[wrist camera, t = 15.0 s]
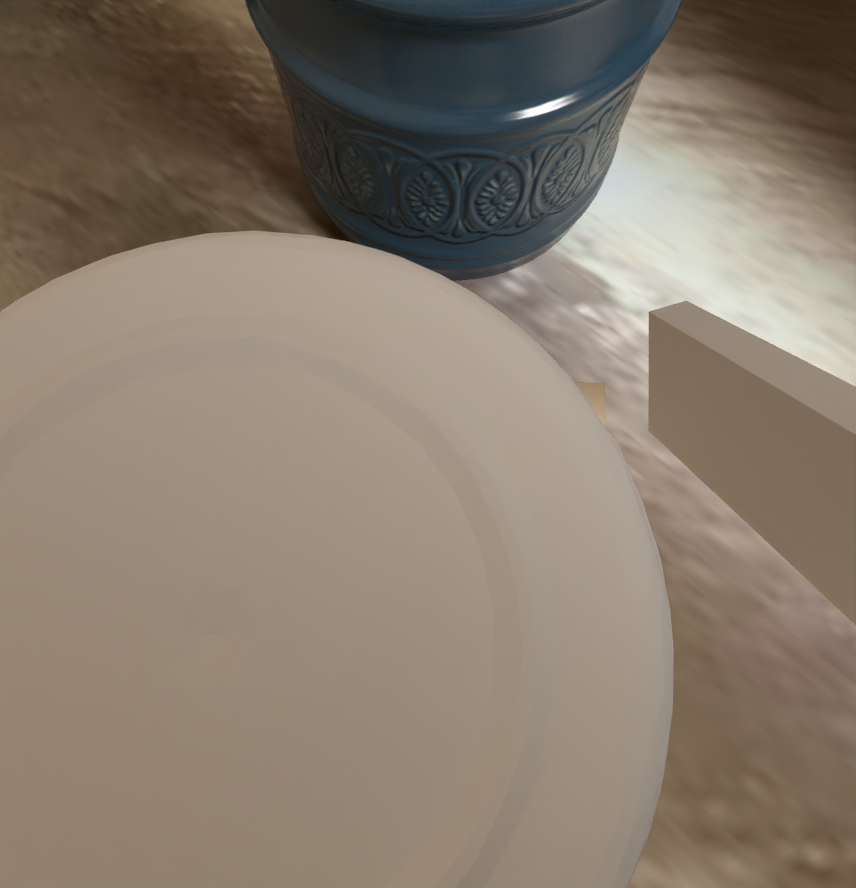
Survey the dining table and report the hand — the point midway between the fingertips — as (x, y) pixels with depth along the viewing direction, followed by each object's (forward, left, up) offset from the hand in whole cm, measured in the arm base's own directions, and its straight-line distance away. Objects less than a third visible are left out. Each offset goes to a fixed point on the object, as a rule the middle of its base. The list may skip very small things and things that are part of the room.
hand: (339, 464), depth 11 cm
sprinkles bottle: (+2, +1, -6) cm, 6 cm away
